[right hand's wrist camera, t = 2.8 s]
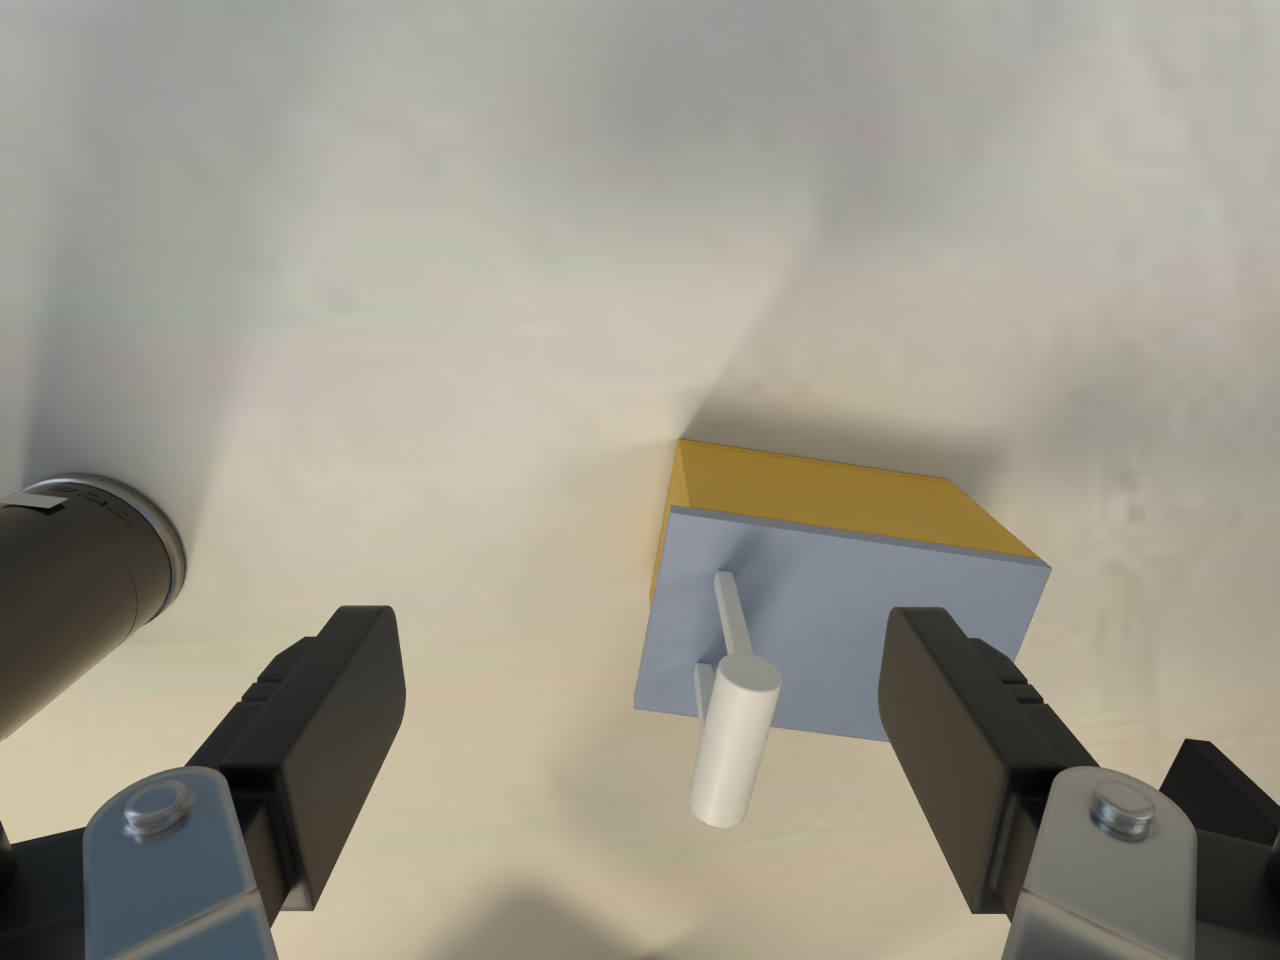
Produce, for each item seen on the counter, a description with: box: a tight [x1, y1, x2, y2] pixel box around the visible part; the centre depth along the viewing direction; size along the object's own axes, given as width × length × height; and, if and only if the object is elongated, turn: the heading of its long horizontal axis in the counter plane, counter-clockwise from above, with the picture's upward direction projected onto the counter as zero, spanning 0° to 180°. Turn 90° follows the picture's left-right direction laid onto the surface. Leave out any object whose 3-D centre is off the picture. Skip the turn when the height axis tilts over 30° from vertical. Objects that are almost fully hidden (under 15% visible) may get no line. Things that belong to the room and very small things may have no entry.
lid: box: [634, 505, 1052, 828], centre depth 27 cm, size 16×10×9 cm, turn 81°
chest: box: [650, 439, 1040, 609], centre depth 35 cm, size 15×10×10 cm, turn 81°
